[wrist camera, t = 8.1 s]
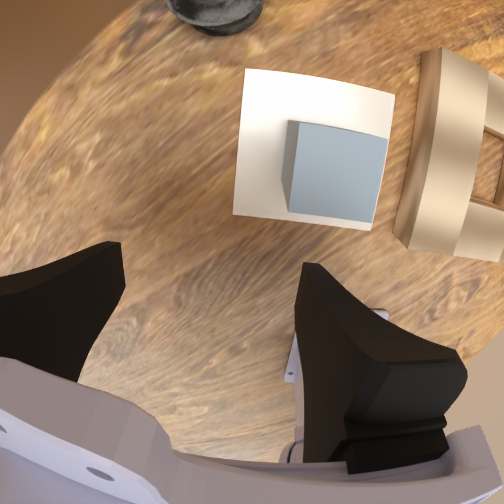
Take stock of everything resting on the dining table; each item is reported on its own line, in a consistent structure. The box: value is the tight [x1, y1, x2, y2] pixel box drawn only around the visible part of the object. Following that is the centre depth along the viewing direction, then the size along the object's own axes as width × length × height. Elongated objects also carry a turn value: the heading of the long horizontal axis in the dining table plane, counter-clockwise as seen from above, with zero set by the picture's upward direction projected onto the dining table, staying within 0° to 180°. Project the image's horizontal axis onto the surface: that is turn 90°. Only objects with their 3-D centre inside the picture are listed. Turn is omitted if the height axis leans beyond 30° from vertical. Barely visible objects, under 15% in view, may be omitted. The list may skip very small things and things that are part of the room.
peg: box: [281, 120, 388, 223], centre depth 16 cm, size 4×4×7 cm
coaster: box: [232, 69, 395, 231], centre depth 19 cm, size 10×10×1 cm
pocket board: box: [392, 47, 504, 263], centre depth 17 cm, size 14×14×3 cm
